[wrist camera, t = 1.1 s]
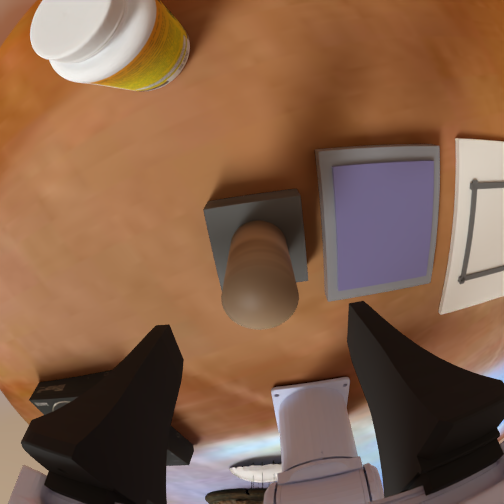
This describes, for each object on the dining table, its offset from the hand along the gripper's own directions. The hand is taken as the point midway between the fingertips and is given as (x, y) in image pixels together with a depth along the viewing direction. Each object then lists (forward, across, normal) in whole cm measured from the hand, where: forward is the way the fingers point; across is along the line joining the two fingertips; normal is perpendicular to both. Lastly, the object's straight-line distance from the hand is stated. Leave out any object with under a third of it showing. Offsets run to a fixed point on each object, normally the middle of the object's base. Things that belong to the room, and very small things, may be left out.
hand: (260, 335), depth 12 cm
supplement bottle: (+11, +5, -14) cm, 18 cm away
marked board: (+10, -22, +2) cm, 24 cm away
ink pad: (+10, -9, 0) cm, 14 cm away
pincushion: (+11, +4, +37) cm, 39 cm away
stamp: (+11, 0, 0) cm, 11 cm away
